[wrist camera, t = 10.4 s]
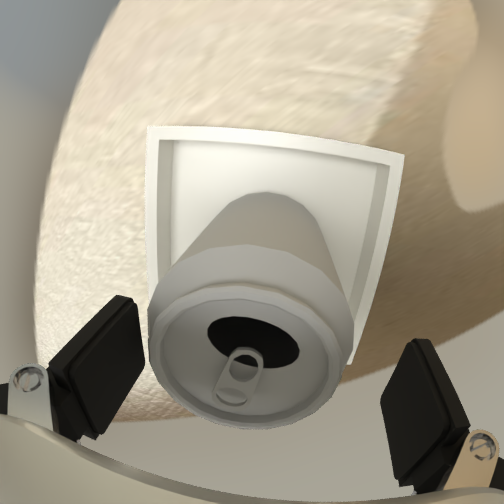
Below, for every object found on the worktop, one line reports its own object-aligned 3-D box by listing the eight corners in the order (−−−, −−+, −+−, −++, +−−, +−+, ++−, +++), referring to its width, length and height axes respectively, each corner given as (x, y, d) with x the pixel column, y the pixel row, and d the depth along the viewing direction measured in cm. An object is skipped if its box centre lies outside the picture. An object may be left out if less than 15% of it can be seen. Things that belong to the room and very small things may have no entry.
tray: (387, 152, 17) (404, 154, 14) (344, 340, 22) (350, 364, 20) (166, 127, 18) (147, 126, 15) (165, 316, 23) (152, 337, 20)
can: (340, 214, 18) (411, 319, 7) (297, 309, 21) (300, 456, 10) (228, 173, 18) (143, 225, 7) (197, 275, 21) (123, 402, 10)
